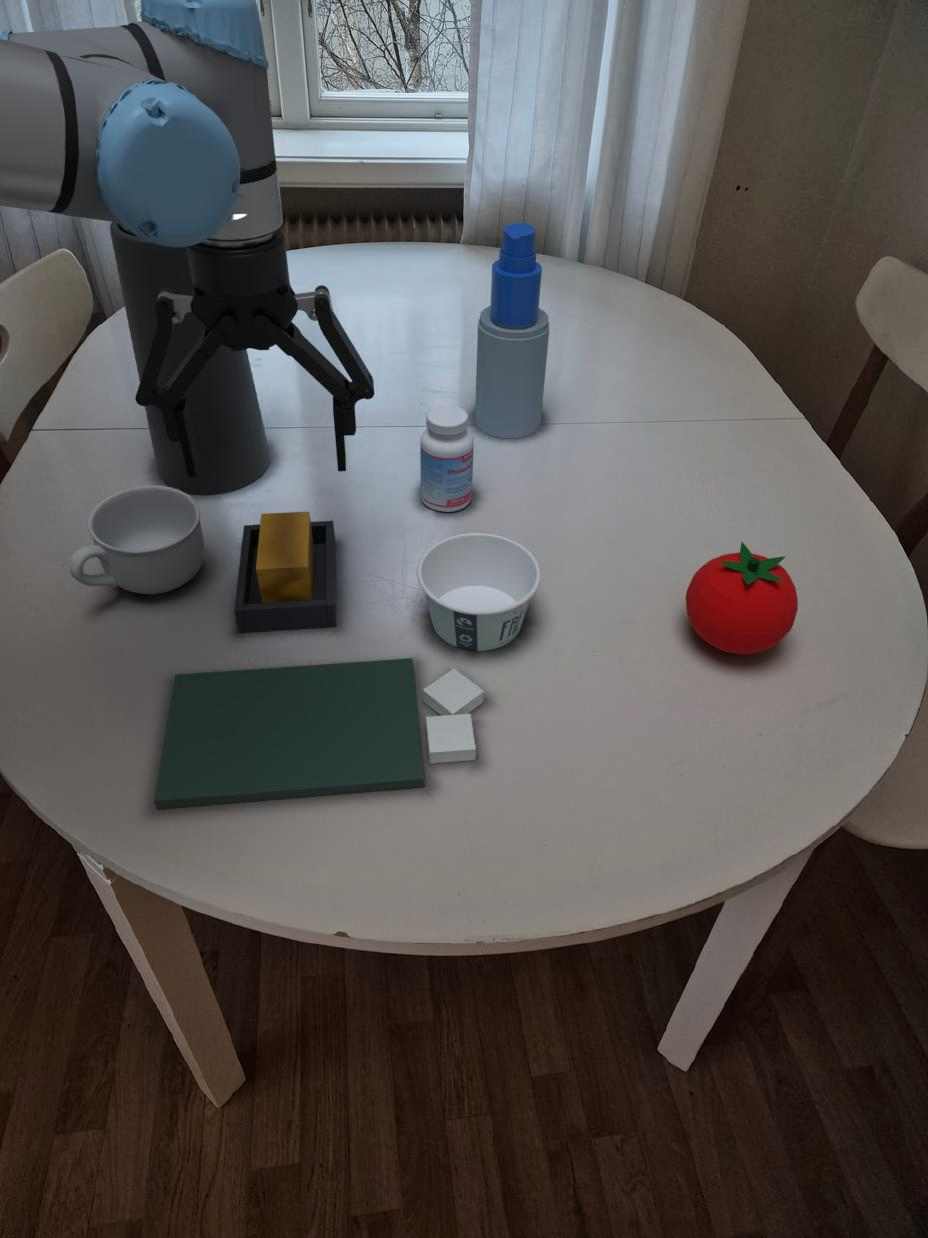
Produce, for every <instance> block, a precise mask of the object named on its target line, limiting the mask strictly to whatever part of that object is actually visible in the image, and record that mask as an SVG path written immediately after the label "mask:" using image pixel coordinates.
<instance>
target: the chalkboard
mask: <svg viewBox="0 0 928 1238" xmlns="http://www.w3.org/2000/svg"><path fill="white" fill-rule="evenodd" d="M414 670H415V669H414V661H413V658H412V657H410V658H397V659H396V658H395V659H382V660H368V661H354V662H353V661H352V662H339V663H324V664H311V665H310V664H309V665H296V666H281V667H268V668H267V667H266V668H253V669H251V668H250V669H238V670H237V669H236V670H235V669H234V670H224V671H223V670H221V671H209V672H207V671H206V672H194V673H193V672H192V673H179V674H175V676H174V682H173V687H172V692H171V699H170V703H169V704H170V705H169V710H168V717H167V722H166V728H165V734H164V739H163V746H162V750H161V751H162V752H161V758H160V763H159V768H158V774H157V781H156V786H155V792H154V797H153V802H154V805H155V807H156V809H157V810H164V809H176V808H188V807H189V808H190V807H201V806H213V805H224V804H237V803H248V802H249V803H251V802H260V801H262V802H263V801H271V800H285V799H295V798H297V799H298V798H309V797H318V796H333V795H342V794H343V795H344V794H355V793H368V792H379V791H380V792H381V791H392V790H404V789H414V788H415V789H416V788H417V789H418V788H425V771H424V763H423V762H424V761H423V752H422V742H421V741H422V740H421V734H420V733H421V732H420V731H421V730H420V722H419V712H418V703H417V693H416V683H415V671H414Z"/></svg>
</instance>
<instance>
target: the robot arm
mask: <svg viewBox="0 0 928 1238" xmlns="http://www.w3.org/2000/svg"><path fill="white" fill-rule="evenodd" d="M140 7H141V9H140V11H139V15H140V21H132V22H130V23H128V24H122V25H119V26H104V27H103V26H102V27H87V28H74V29H73V28H71V29H57V30H40V31H23V32H13V30H10V29H9V30H4V31H2V33H1V34H0V207H7V208H15V209H22V210H29V211H37V212H45V213H50V214H51V213H54V214H57V215H63V216H68V217H74V218H83V219H89V220H95V221H96V220H97V221H105V222H111V223H112V222H117V223H118V224H119V225H120V226H121V227H122V228H124V229H125V230H127V231H128V232H130V233H132V234H135V235H136V236H138V237H140V238H143V239H147V240H149V241H151V242H153V243H156V244H159V245H163V246H168V247H186V249H187V254H188V260H189V265H190V271H191V276H192V281H193V287H194V294H193V296H188V295H177V294H174V292H173V291H172V290H171V289H169V288H163V289H161V291H160V293H159V296H158V299H157V301H156V305H155V309H156V319H157V329H156V333H155V336H154V339H153V342H152V346H151V349H150V352H149V355H148V358H147V362H146V365H145V368H144V371H143V375H142V378H141V381H139V385H138V389H137V391H136V394H135V397H134V399H135V402H136V404H137V405H139V406H141V407H145V406H147V405H152V406H155V407H157V408H159V409H160V411H161V412H162V416H163V420H164V425H165V429H166V433H167V437H168V438H169V440H170V441H171V442H178V441H180V443H181V447H182V452H183V456H184V461H185V465H186V470H187V474H188V477H197V472H198V467H199V462H200V460H199V455H198V450H197V445H196V441H195V436H194V431H193V426H192V421H191V417H190V412H189V407H188V402H187V398H181V397H182V396H183V395H184V393H185V392H186V391H187V389H188V388H189V386H190V385H191V384H192V382H193V381H194V380H195V378H196V377H197V375H198V374H199V373H200V371H201V370H202V369H203V367H204V366H205V364H206V363H207V362H208V360H209V359H210V358H212V357H213V355H214V354H215V353H216V351H217V350H218V349H219V347H220V346H221V344H222V345H224V346H226V347H228V348H231V351H241V350H245V349H247V350H248V349H252V350H257V351H269V350H270V348H272V347H274V346H276V347H277V348H279V349H280V350H281V351H282V352H283V353H284V354H285V355H286V356H288V357H291V358H292V359H293V360H294V361H295V362H296V363H298V364H299V366H301V367H302V368H303V369H304V370H305V371H306V372H307V373H308V374H309V375H310V376H311V377H313V379H314V380H316V382H318V383H319V385H320V386H322V387H323V388H324V389H325V390H326V391H327V392H328V393H329V394H330V395H331V396H332V415H333V426H334V427H333V428H334V438H335V453H336V463H337V464H336V465H337V472H347V455H346V441H345V439H346V438H345V437H346V436H347V437H348V436H350V437H351V436H355V435H356V432H357V418H356V405H357V402H360V401H361V400H363V399H364V400H371V399H373V398H374V396H375V383H374V378H373V375H372V374H371V372H370V370H369V368H368V367H367V365H366V364H365V362H364V360H363V359H362V357H361V355H360V354H359V352H358V351H357V348H356V347H355V345H354V343H353V342H352V341H351V338H350V337H349V336H348V334H347V331H346V330H345V329H344V327H343V326H342V324H341V322H340V320H339V319H338V316H336V315H337V314H335V312H334V308H333V305H332V298H331V293H330V289H329V288H328V287H327V286H325V285H324V284H323V285H322V284H319V285H318V286H316V287H315V289H314V291H308V292H299V293H296V292H295V291H294V289H293V287H292V284H291V281H290V273H289V272H290V271H289V263H288V255H287V246H286V239H285V238H286V236H285V234H284V232H283V231H282V230H281V229H280V227H282V225H283V222H284V218H283V217H284V216H283V207H282V198H281V188H280V179H279V170H278V167H277V158H276V149H275V141H274V131H273V129H274V128H273V118H272V109H271V100H270V99H271V98H270V86H269V76H268V69H270V68H269V67H270V66H269V61H268V59H267V53H266V48H265V40H264V33H263V28H262V22H261V20H260V14H259V8H258V4H257V1H256V0H140ZM298 311H302V312H304V313H305V314H306V316H307V317H308V319H309V320H311V321H313V322H317V324H318V327H319V329H320V331H321V333H322V335H323V337H324V338H325V340H326V342H327V343H328V344H329V347H331V350H332V351H333V353H334V355H335V356H336V357H337V359H338V361H339V362H340V364H341V365H342V367H343V369H344V370H345V372H346V374H347V376H348V377H349V379H350V380H351V381H350V380H349V379H348V378H347V377H346V376H345V375H344V374H343V373H342V372H341V371H340V370H339V369H338V368H337V367H336V366H335V365H334V364H333V363H332V362H331V361H330V360H329V359H328V358H327V357H326V356H325V355H324V354H323V353H322V352H321V351H320V350H319V349H318V348H316V346H315V345H314V344H312V343H311V341H309V339H307V337H305V335H303V333H302V332H301V330H300V328H299V327H298V326H297V325H296V324H295V323H294V322H293V320H294V319H295V317H296V315H297V313H298ZM189 312H192V313H193V315H194V316H195V317H196V318H197V319H198V320H199V321H200V322H201V324H202V325H203V326H204V327H205V329H204V330H203V332H202V334H201V336H200V338H199V339H198V340H197V342H196V343H195V345H194V346H193V347H192V349H191V350H190V352H189V353H188V354H187V356H186V357H185V359H184V360H183V362H182V363H181V364H180V366H179V367H178V369H177V370H176V371H175V373H174V374H173V376H172V377H171V378H170V380H169V381H168V383H167V384H166V385H165V384H164V387H160V386H156V382H157V379H158V376H159V373H160V370H161V367H162V364H163V361H164V357H165V354H166V351H167V348H168V345H169V342H170V339H171V336H172V332H173V329H174V325H175V324H179V323H181V322H182V321H183V319H184V316H185V314H187V313H189Z"/></svg>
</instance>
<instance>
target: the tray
mask: <svg viewBox="0 0 928 1238" xmlns="http://www.w3.org/2000/svg"><path fill="white" fill-rule="evenodd" d="M334 523H335V522H334V520H318V521H317V520H316V521H311V527H312V535H313V543H314V551H315V557H314V600H310V601H293V602H277V603H262V599H261V594H260V588H259V583H258V578H257V573H256V562H257V552H258V542H259V532H260V524H244V525H243V530H242V531H243V532H242V538H241V539H242V540H241V549H240V557H239V565H238V567H239V568H238V575H237V585H236V594H235V601H234V603H235V604H234V610H233V611H234V615H235V621H236V624H237V628H238V633H240V634H244V633H260V632H274V631H289V630H290V631H291V630H304V629H320V628H321V629H322V628H334V627H335V628H336V627H337V623H338V622H337V555H336V554H337V553H336V551H337V550H336V548H337V547H336V546H337V545H336V535H335V525H334Z"/></svg>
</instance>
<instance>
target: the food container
mask: <svg viewBox="0 0 928 1238" xmlns="http://www.w3.org/2000/svg"><path fill="white" fill-rule="evenodd" d="M541 571H542V570H541V567H540V564H539V562H538V560H537V558H536V557H535V556H534V554H533V553H532V552H531V551H530V550H529V549H528V548H527V547H526V546H524V545H522V544H521V543H519V542H517V541H515V540H513V539H511V538H508V537H506V536H502V535H499V534H495V533H487V532H467V533H459V534H456V535H452V536H448V537H446V538H443V539H441V540H439V541H437V542H436V543H434V544H432V545H431V546H430V547H429V548H428V549H427V550H425V552H424V553H423V554H422V556H421V557H420V559H419V560H418V564H417V567H416V576H417V581H418V584H419V586H420V588H421V589H422V591H423V592H424V594H425V599H426V603H427V607H428V611H429V616H430V619H431V623H432V627H433V629H434V631H435V633H436V634H437V635H438V637H439V638H440V639H442V640H443V641H444V642H446V643H447V644H449V645H451V646H452V647H455V648H458V649H460V650H466V651H470V652H485V651H491V650H496V649H499V648H501V647H504V646H506V645H507V644H510V643H511V642H512V641H513V640H515V638H516V637H517V636H518V634H519V632H520V631H521V628H522V625H523V623H524V620H525V617H526V613H527V611H528V608H529V606H530V602H531V599H532V597H533V596H534V595H535V594H536V592H537V591H538V589H539V586H540V584H541V578H542V572H541Z"/></svg>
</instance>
